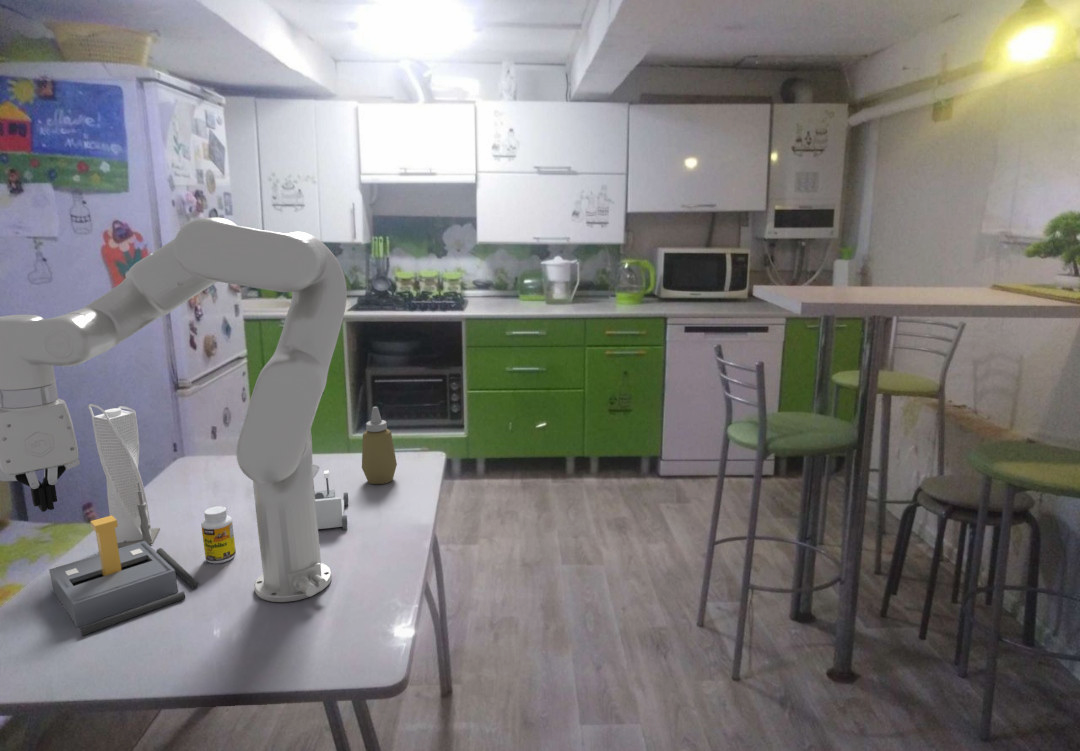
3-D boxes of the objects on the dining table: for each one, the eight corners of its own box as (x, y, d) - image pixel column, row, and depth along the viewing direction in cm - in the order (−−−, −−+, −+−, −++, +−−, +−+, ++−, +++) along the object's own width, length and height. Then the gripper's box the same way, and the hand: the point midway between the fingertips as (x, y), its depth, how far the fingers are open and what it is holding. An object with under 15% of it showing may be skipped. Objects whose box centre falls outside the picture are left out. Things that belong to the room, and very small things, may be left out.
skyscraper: (103, 551, 139) (80, 410, 133) (114, 533, 147) (92, 399, 140) (152, 544, 142) (131, 405, 135) (160, 527, 149) (141, 395, 143)
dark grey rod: (199, 586, 125) (198, 580, 125) (191, 589, 125) (191, 583, 124) (163, 553, 138) (162, 547, 138) (156, 555, 137) (155, 549, 137)
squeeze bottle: (404, 478, 174) (400, 405, 170) (380, 489, 167) (375, 414, 163) (380, 472, 178) (374, 401, 174) (355, 482, 171) (349, 409, 167)
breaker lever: (125, 574, 124) (116, 520, 122) (104, 581, 122) (95, 526, 119) (120, 569, 126) (111, 515, 124) (99, 575, 124) (90, 521, 121)
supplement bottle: (202, 565, 133) (195, 517, 131) (210, 552, 138) (204, 505, 136) (232, 563, 134) (226, 514, 131) (239, 550, 139) (233, 503, 136)
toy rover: (290, 461, 159) (345, 457, 161) (294, 503, 161) (348, 498, 164) (282, 492, 142) (343, 486, 144) (286, 539, 144) (347, 532, 146)
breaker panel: (178, 591, 124) (174, 569, 123) (77, 627, 114) (72, 603, 113) (147, 560, 135) (144, 540, 134) (53, 590, 125) (49, 568, 124)
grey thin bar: (185, 599, 122) (184, 592, 121) (83, 636, 111) (82, 629, 111) (183, 596, 122) (182, 590, 122) (81, 633, 112) (80, 626, 112)
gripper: (-29, 410, 104) (-8, 529, 108) (90, 392, 114) (105, 502, 118) (-37, 400, 109) (-16, 514, 113) (77, 384, 119) (93, 489, 123)
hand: (46, 507), depth 116 cm, fingers closed
